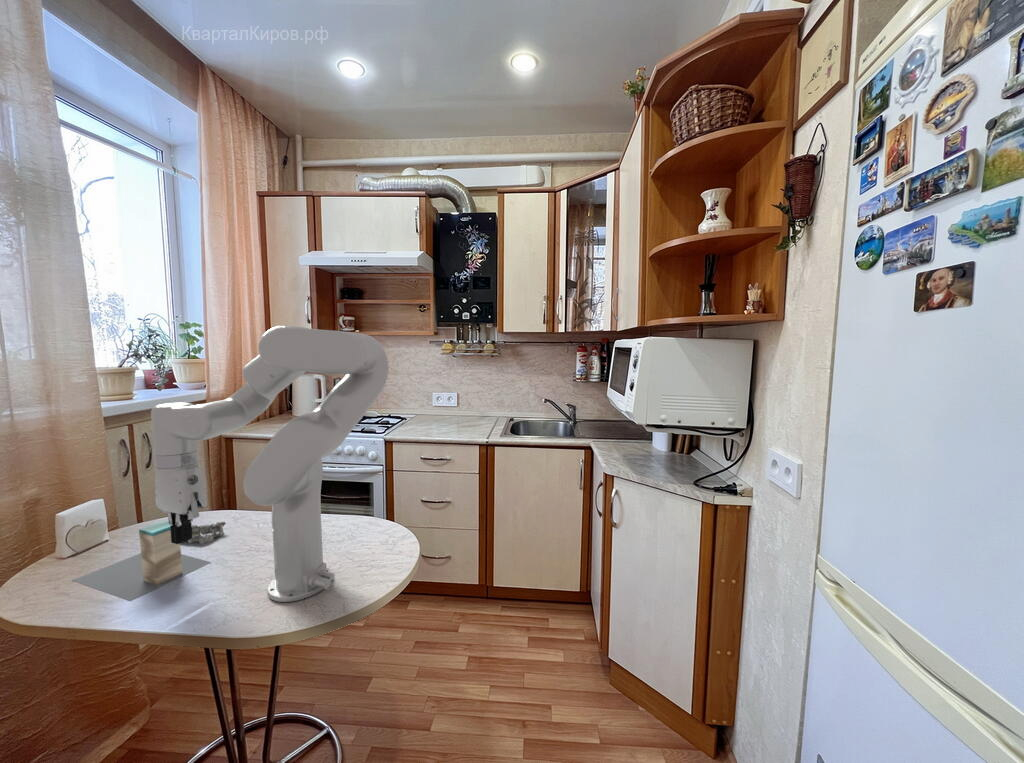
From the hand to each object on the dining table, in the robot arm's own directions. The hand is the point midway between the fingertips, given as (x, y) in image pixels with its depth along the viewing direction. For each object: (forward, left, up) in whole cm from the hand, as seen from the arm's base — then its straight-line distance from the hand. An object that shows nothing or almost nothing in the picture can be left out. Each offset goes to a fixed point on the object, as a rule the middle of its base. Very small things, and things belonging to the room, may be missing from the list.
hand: (181, 540), depth 87 cm
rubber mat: (+15, 0, -11) cm, 18 cm away
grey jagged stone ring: (+21, -16, -11) cm, 29 cm away
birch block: (+8, 0, -10) cm, 13 cm away
